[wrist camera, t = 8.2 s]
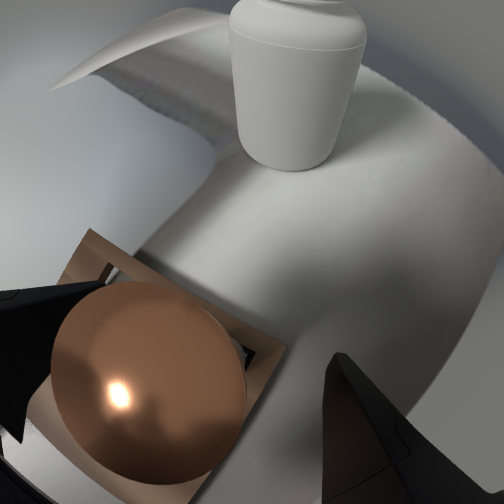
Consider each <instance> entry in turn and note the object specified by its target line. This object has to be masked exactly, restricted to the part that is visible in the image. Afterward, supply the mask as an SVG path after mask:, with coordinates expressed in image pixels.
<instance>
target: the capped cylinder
mask: <svg viewBox="0 0 504 504" xmlns="http://www.w3.org/2000/svg"><path fill="white" fill-rule="evenodd" d="M247 355H248V354H247V353H245V352H244V349H243V348H242V346H241V345H240V343H239V342H238V341H237V340H235V339H234V338H232V337H230V335H229V334H228V332H227V331H226V330H225V328H224V327H223V326H222V325H221V324H220V323H219V322H218V321H217V320H216V319H215V318H214V317H213V316H212V315H210V314H209V313H208V312H207V311H205V310H204V309H203V308H201V307H200V306H198V305H197V304H196V303H194V302H193V301H191V300H190V299H188V298H187V297H185V296H184V295H182V294H180V293H178V292H176V291H174V290H172V289H169V288H166V287H164V286H161V285H157V284H153V283H148V282H138V281H129V282H119V283H115V284H110V285H107V286H105V287H102V288H99V289H97V290H95V291H94V292H92V293H90V294H88V295H87V296H86V297H84V298H83V299H82V300H81V301H79V302H78V303H77V304H76V305H75V306H74V307H73V308H72V310H71V311H70V312H69V314H68V315H67V316H66V318H65V319H64V321H63V323H62V325H61V327H60V328H59V331H58V333H57V336H56V339H55V342H54V346H53V350H52V357H51V382H52V389H53V394H54V398H55V401H56V404H57V408H58V410H59V413H60V415H61V417H62V419H63V421H64V423H65V425H66V427H67V428H68V430H69V432H70V433H71V435H72V436H73V437H74V439H75V440H76V442H77V443H78V444H79V445H80V446H81V447H82V448H83V449H84V451H85V452H86V453H87V454H89V455H90V456H91V457H92V458H93V459H94V460H95V461H97V462H98V463H99V464H101V465H102V466H104V467H105V468H106V469H108V470H110V471H112V472H114V473H115V474H117V475H120V476H122V477H124V478H127V479H129V480H133V481H136V482H140V483H144V484H151V485H173V484H181V483H184V482H188V481H192V480H194V479H196V478H199V477H201V476H203V475H205V474H206V473H208V472H209V471H211V470H212V469H214V468H215V467H216V466H217V465H218V464H220V463H221V462H222V461H223V460H224V459H225V457H226V456H227V455H228V454H229V452H230V451H231V450H232V448H233V446H234V444H235V442H236V441H237V439H238V436H239V433H240V431H241V428H242V425H243V420H244V414H245V408H246V402H247V378H246V372H245V368H244V366H245V360H246V357H247Z"/></svg>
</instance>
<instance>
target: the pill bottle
mask: <svg viewBox="0 0 504 504" xmlns="http://www.w3.org/2000/svg"><path fill="white" fill-rule="evenodd" d="M350 2H351V0H241V1H239V2H238V3H237V4H236V5H235V6H234V8H233V9H232V11H231V14H230V18H229V37H230V48H231V59H232V70H233V81H234V92H235V102H236V113H237V124H238V133H239V137H240V141H241V144H242V146H243V148H244V149H245V151H246V152H247V153H248V154H249V155H250V156H251V157H252V158H253V159H254V160H256V161H257V162H259V163H260V164H262V165H264V166H266V167H269V168H272V169H276V170H280V171H302V170H307V169H310V168H313V167H315V166H317V165H319V164H320V163H322V162H323V161H324V160H325V159H326V158H327V157H328V156H329V155H330V153H331V151H332V149H333V148H334V146H335V143H336V140H337V137H338V134H339V131H340V128H341V125H342V122H343V119H344V115H345V112H346V109H347V106H348V103H349V100H350V96H351V93H352V90H353V87H354V83H355V80H356V77H357V73H358V70H359V67H360V63H361V59H362V56H363V52H364V49H365V45H366V40H367V32H366V26H365V24H364V21H363V20H362V18H361V17H360V16H359V14H358V13H356V12H355V11H354V10H353V9H352V8H351V7H349V6H347V4H349V3H350Z"/></svg>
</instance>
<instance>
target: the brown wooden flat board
mask: <svg viewBox="0 0 504 504" xmlns="http://www.w3.org/2000/svg"><path fill="white" fill-rule="evenodd" d="M114 266H115V267H117V268H118V269H119V270H121V271H122V272H124V273H125V274H127V275H128V276H129V277H131V278H132V279H134V280H135V281H138V282H148V283H153V284H157V285H161V286H164V287H166V288H169V289H172V290H174V291H176V292H178V293H180V294H182V295H184V296H185V297H187V298H188V299H190V300H191V301H193V302H194V303H196V304H197V305H198V306H200V307H201V308H203V309H204V310H205V311H207V312H208V313H209V314H210V315H212V316H213V317H214V318H215V319H216V320H217V321H218V322H219V323H220V324H221V325H222V326H223V327H224V328H225V330H226V331H227V332H228V334H229V335H230V337H232V338H234V339H235V340H237V341H238V342H239V343H240V344H242V345H243V346H245V347H247V348H249V349H251V350H253V351H255V352H256V353H255V355H254V357H253V359H252V360H251V362H250V364H249V366H248V367H247V369H246V371H245V372H246V378H247V402H246V408H245V414H244V420H245V419H246V417H247V415H248V414H249V412H250V410H251V409H252V407H253V405H254V404H255V402H256V400H257V399H258V397H259V395H260V394H261V392H262V390H263V388H264V387H265V385H266V383H267V381H268V380H269V378H270V376H271V374H272V373H273V371H274V369H275V367H276V365H277V364H278V362H279V360H280V358H281V356H282V354H283V353H284V351H285V349H286V347H287V345H286V344H284V343H282V342H280V341H278V340H276V339H274V338H272V337H270V336H268V335H266V334H264V333H263V332H261V331H259V330H257V329H255V328H253V327H251V326H249V325H247V324H246V323H244V322H242V321H240V320H238V319H236V318H234V317H233V316H231V315H229V314H227V313H225V312H224V311H222V310H220V309H218V308H216V307H215V306H213V305H211V304H209V303H208V302H206V301H204V300H202V299H201V298H199V297H197V296H195V295H194V294H192V293H190V292H189V291H187V290H185V289H183V288H182V287H180V286H178V285H177V284H175V283H173V282H172V281H170V280H169V279H167V278H165V277H164V276H162V275H160V274H159V273H157V272H155V271H154V270H152V269H151V268H149V267H148V266H146V265H144V264H143V263H141V262H140V261H138V260H137V259H135V258H133V257H132V256H130V255H129V254H127V253H126V252H124V251H123V250H121V249H120V248H118V247H116V246H115V245H113V244H112V243H111V242H109V241H108V240H106V239H105V238H103V237H102V236H100V235H99V234H97V233H96V232H94V231H93V230H92V229H90V228H89V230H88V231H87V233H86V234H85V236H84V237H83V239H82V241H81V242H80V244H79V246H78V247H77V249H76V251H75V252H74V254H73V256H72V258H71V259H70V261H69V263H68V264H67V266H66V268H65V270H64V271H63V273H62V275H61V277H60V279H59V281H58V283H57V285H61V284H69V283H77V282H86V281H94V280H99V281H101V282H104V283H105V281H106V280H107V278H108V276H109V274H110V273H111V271H112V269H113V268H114ZM26 417H27V418H28V419H29V420H30V421H31V422H32V423H33V425H34V426H35V427H36V428H37V429H38V430H39V431H40V432H41V433H42V434H43V435H44V436H45V437H46V438H47V439H48V440H49V442H50V443H51V444H53V445H54V446H55V447H56V448H57V449H58V450H59V451H60V452H61V453H62V454H63V455H64V456H65V457H66V458H67V459H68V460H70V461H71V462H72V463H73V464H74V465H75V466H76V467H78V468H79V469H80V470H81V471H82V472H84V473H85V474H86V475H87V476H88V477H90V478H91V479H92V480H94V481H95V482H96V483H97V484H99V485H100V486H101V487H103V488H104V489H106V490H107V491H108V492H110V493H111V494H113V495H114V496H115V497H117V498H118V499H120V500H121V501H123V502H124V503H126V504H188V502H189V501H190V500H191V498H192V497H193V496H194V494H195V493H196V492H197V490H198V489H199V487H200V486H201V485H202V483H203V482H204V481H205V479H206V478H207V476H208V475H209V473H210V472H211V471H212V470H211V471H209V472H208V473H206V474H205V475H203V476H201V477H199V478H196V479H194V480H192V481H188V482H184V483H181V484H173V485H151V484H144V483H140V482H136V481H133V480H129V479H127V478H124V477H122V476H120V475H117V474H115V473H114V472H112V471H110V470H108V469H106V468H105V467H104V466H102V465H101V464H99V463H98V462H97V461H95V460H94V459H93V458H92V457H91V456H90V455H89V454H87V453H86V452H85V451H84V449H83V448H82V447H81V446H80V445H79V444H78V443H77V442H76V440H75V439H74V437H73V436H72V435H71V433H70V432H69V430H68V428H67V427H66V425H65V423H64V421H63V419H62V417H61V415H60V413H59V410H58V408H57V404H56V401H55V398H54V394H53V389H52V382H51V374H50V375H49V376H48V377H47V378H46V380H45V381H44V382H43V383H42V385H41V386H40V387H39V388H38V389H37V391H36V392H35V393H34V394H33V396H32V397H31V399H30V401H29V403H28V408H27V413H26ZM244 420H243V422H244Z"/></svg>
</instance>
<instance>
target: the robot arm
mask: <svg viewBox="0 0 504 504" xmlns="http://www.w3.org/2000/svg"><path fill="white" fill-rule="evenodd" d="M105 286H106V284H105V283H104V282H101V281H99V280H94V281H86V282H77V283H69V284H61V285H53V286H44V287H37V288H27V289H21V290H20V289H17V290H7V291H0V431H1V430H2V428H4V429H5V430H6V431H7V432H8V433H9V434H10V435H11V436H12V437H14V438H15V439H16V440H17V441H18V442H19V443H20V444H22V441H23V434H24V427H25V420H26V413H27V408H28V403H29V401H30V399H31V397H32V396H33V394H34V393H35V392H36V391H37V389H38V388H39V387H40V386H41V385H42V383H43V382H44V381H45V380H46V378H47V377H48V376H49V375H50V374H51V357H52V350H53V346H54V342H55V339H56V336H57V333H58V331H59V328H60V327H61V325H62V323H63V321H64V319H65V318H66V316H67V315H68V314H69V312H70V311H71V310H72V308H73V307H74V306H75V305H76V304H77V303H78V302H79V301H81V300H82V299H83V298H84V297H86V296H87V295H88V294H90V293H92V292H94V291H95V290H97V289H99V288H102V287H105ZM322 411H323V478H322V504H504V490H501V491H499V492H496V493H493V494H491V493H488V492H486V491H485V490H483V489H482V488H481V487H480V486H479V485H478V484H477V483H475V482H474V481H473V480H472V479H471V478H470V477H468V476H467V475H466V474H465V473H464V472H463V471H462V470H461V469H459V468H458V467H457V466H456V465H455V464H453V462H451V461H450V460H449V459H448V458H447V457H446V456H445V455H444V454H443V453H441V452H440V451H439V450H438V449H437V448H436V447H434V445H432V444H431V443H430V442H429V441H428V440H427V439H426V438H425V437H424V436H423V435H421V433H419V432H418V431H417V430H416V429H415V428H414V427H413V425H412V424H410V422H409V421H408V420H407V419H406V418H405V417H404V416H403V415H402V414H400V412H399V411H398V410H397V409H396V408H395V406H394V405H393V404H392V403H391V402H390V401H389V400H388V399H387V398H386V397H385V396H384V394H383V393H382V392H381V391H380V390H379V389H378V388H377V387H376V386H375V385H374V383H373V382H372V381H371V380H370V379H369V378H368V377H367V376H366V375H365V374H364V372H363V371H362V370H361V369H360V368H359V367H358V366H357V365H356V364H355V363H354V362H353V360H352V359H351V358H350V357H349V356H348V355H347V354H345V353H341V352H336V353H335V354H334V355H333V357H332V359H331V361H330V363H329V364H328V366H327V369H326V374H325V384H324V394H323V404H322ZM0 504H58V503H57V502H56V501H54V500H53V499H52V498H50V497H49V496H47V495H46V494H45V493H44V492H42V491H41V490H40V489H38V488H37V487H36V486H35V485H33V484H32V483H31V482H30V481H29V480H28V479H26V478H25V477H24V476H23V475H22V474H21V473H20V472H18V471H17V470H16V469H15V468H14V467H13V466H12V465H11V464H10V463H9V462H8V461H7V460H6V459H5V458H4V455H3V448H2V441H1V435H0Z"/></svg>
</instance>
